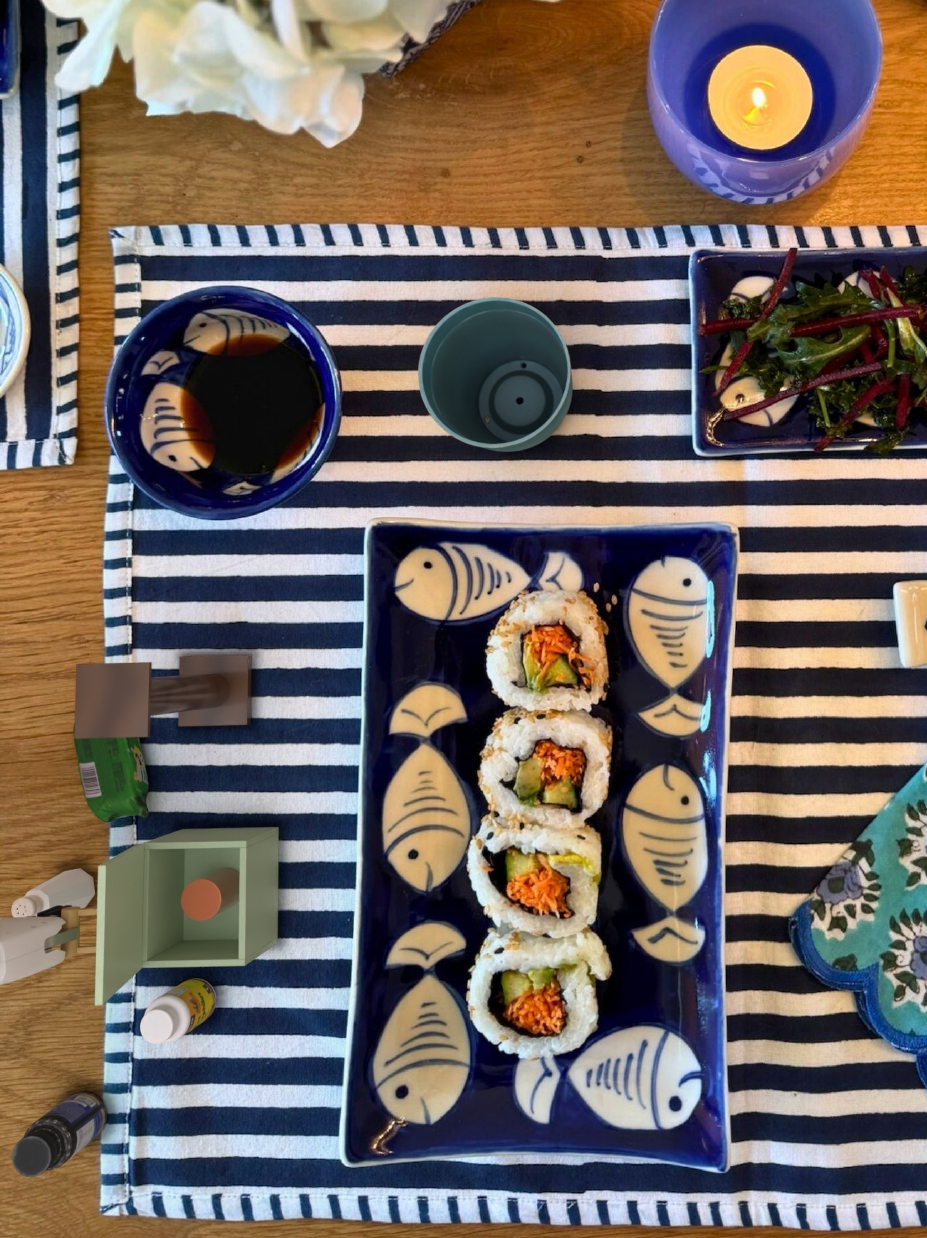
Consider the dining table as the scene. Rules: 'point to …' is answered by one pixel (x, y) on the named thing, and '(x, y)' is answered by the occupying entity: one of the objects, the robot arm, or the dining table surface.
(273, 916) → the chest
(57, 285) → the dining table surface
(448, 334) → the flower pot
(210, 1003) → the supplement bottle
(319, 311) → the dining table surface
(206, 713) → the stand
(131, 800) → the snack package
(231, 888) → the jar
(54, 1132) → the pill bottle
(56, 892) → the salt shaker
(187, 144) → the dining table surface
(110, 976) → the lid
